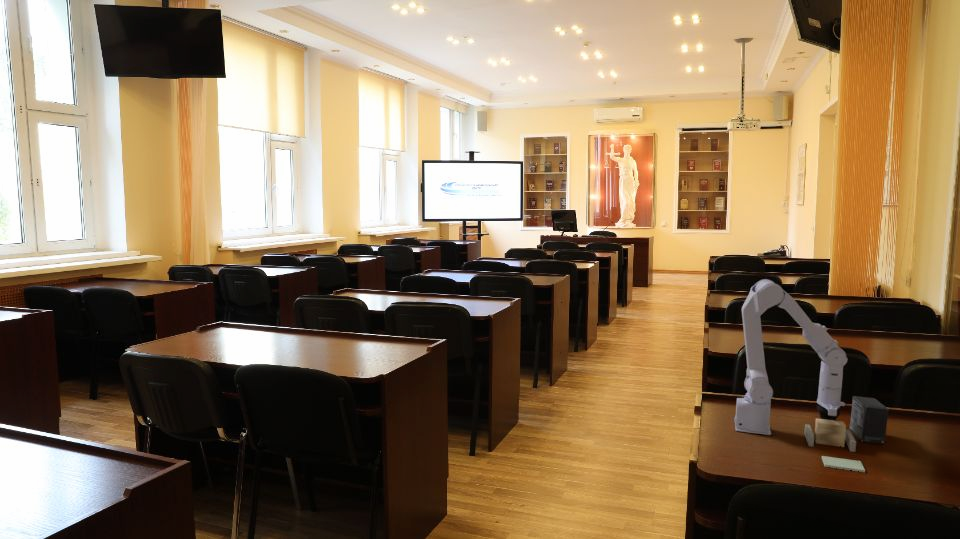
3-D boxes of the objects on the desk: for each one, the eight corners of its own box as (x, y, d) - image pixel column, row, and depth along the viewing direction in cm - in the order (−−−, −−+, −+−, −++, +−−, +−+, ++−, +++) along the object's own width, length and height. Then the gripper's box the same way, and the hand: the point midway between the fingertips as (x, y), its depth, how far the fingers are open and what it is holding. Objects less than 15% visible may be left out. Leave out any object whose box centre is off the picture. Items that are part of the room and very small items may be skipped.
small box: (886, 445, 184) (890, 408, 183) (861, 443, 185) (864, 406, 184) (872, 431, 194) (875, 397, 193) (848, 429, 196) (851, 395, 194)
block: (816, 443, 185) (817, 422, 184) (814, 438, 188) (815, 418, 188) (844, 447, 182) (846, 426, 181) (841, 442, 186) (843, 421, 185)
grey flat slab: (808, 445, 182) (809, 436, 182) (804, 433, 192) (805, 424, 191) (855, 452, 179) (856, 442, 178) (848, 439, 188) (849, 429, 188)
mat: (824, 466, 169) (825, 464, 169) (821, 458, 174) (821, 455, 174) (864, 472, 166) (865, 470, 166) (860, 463, 171) (860, 461, 171)
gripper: (850, 395, 181) (846, 443, 182) (841, 381, 194) (837, 425, 196) (821, 392, 183) (818, 439, 185) (814, 378, 196) (811, 422, 198)
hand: (826, 432), depth 190 cm, fingers closed
